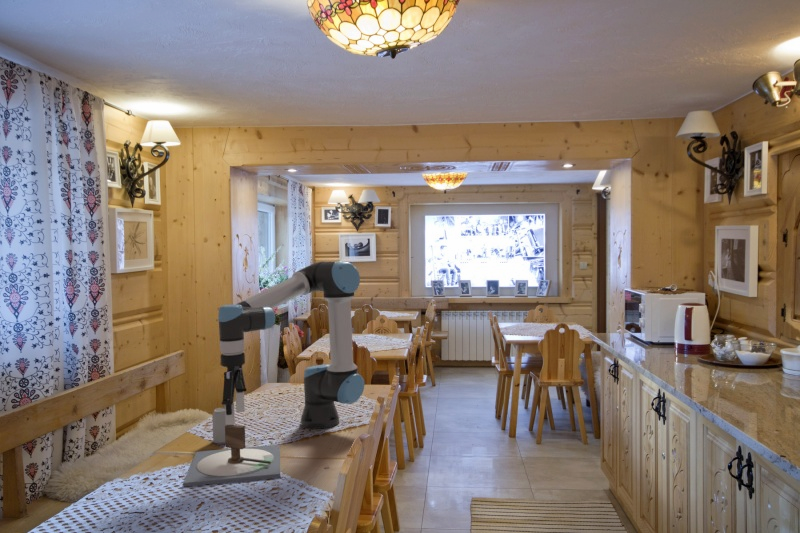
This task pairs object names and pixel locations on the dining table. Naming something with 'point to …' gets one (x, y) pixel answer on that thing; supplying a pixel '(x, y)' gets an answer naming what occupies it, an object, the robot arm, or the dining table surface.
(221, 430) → the can
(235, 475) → the dial board
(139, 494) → the dining table surface
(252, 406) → the dining table surface
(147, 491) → the dining table surface
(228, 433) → the dial pointer knob
